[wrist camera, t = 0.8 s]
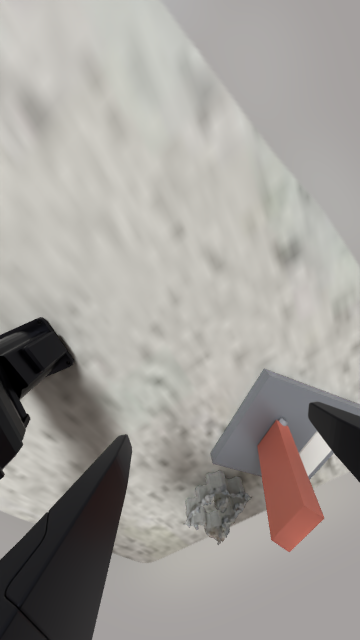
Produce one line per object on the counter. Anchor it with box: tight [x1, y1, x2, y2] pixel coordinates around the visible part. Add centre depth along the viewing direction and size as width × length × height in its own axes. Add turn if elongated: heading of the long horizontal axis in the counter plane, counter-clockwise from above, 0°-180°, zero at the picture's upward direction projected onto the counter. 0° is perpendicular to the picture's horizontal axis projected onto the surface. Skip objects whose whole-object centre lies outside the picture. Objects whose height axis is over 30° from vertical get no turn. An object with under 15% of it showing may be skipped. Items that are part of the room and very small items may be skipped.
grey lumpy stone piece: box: [183, 470, 252, 545], centre depth 29 cm, size 11×8×4 cm
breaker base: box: [211, 369, 360, 480], centre depth 26 cm, size 16×16×2 cm
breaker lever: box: [257, 417, 324, 552], centre depth 20 cm, size 2×6×10 cm, turn 157°
